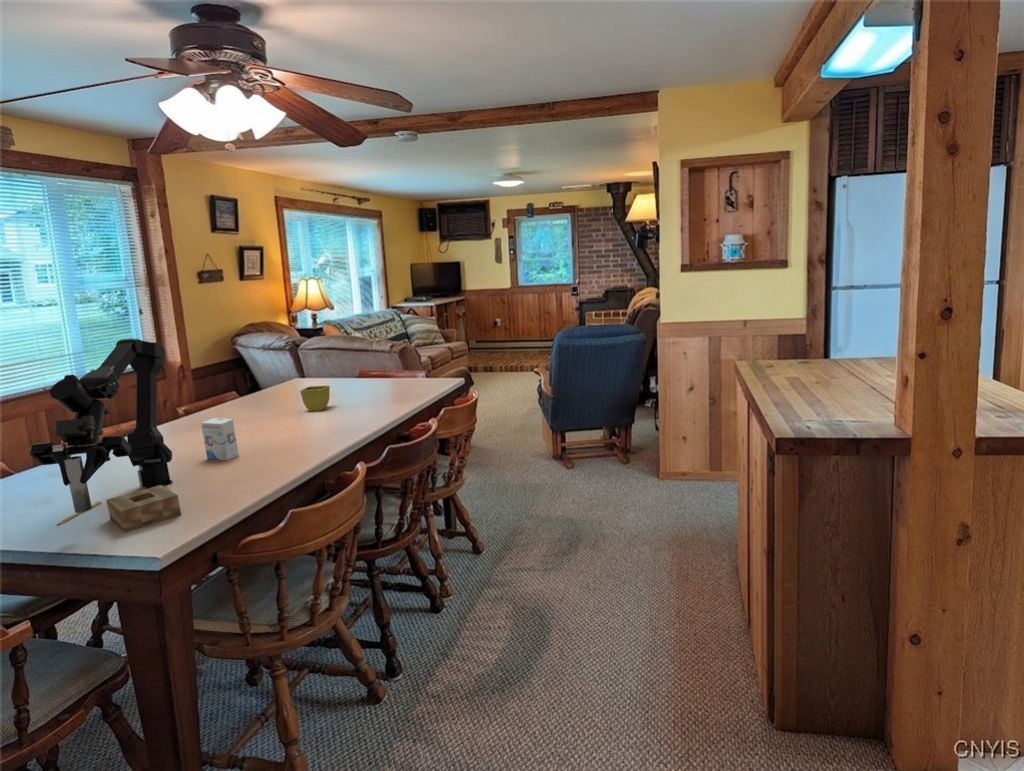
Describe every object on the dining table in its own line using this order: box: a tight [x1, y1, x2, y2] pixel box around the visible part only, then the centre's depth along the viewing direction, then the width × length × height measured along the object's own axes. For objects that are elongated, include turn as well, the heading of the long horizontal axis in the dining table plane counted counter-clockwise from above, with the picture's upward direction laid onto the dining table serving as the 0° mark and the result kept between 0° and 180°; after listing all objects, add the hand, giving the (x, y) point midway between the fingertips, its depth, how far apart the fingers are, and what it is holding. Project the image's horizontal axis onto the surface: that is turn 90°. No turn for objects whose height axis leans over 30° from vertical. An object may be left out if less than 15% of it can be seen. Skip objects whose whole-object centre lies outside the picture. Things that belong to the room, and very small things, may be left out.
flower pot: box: [299, 385, 330, 412], centre depth 259 cm, size 9×9×9 cm
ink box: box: [200, 417, 240, 461], centre depth 200 cm, size 9×5×12 cm, turn 70°
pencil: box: [56, 500, 102, 527], centre depth 160 cm, size 1×14×1 cm, turn 173°
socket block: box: [106, 485, 182, 533], centre depth 154 cm, size 12×12×5 cm
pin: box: [64, 455, 93, 514], centre depth 143 cm, size 3×3×12 cm
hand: (74, 483), depth 142 cm, fingers closed on pin, 3 cm apart
